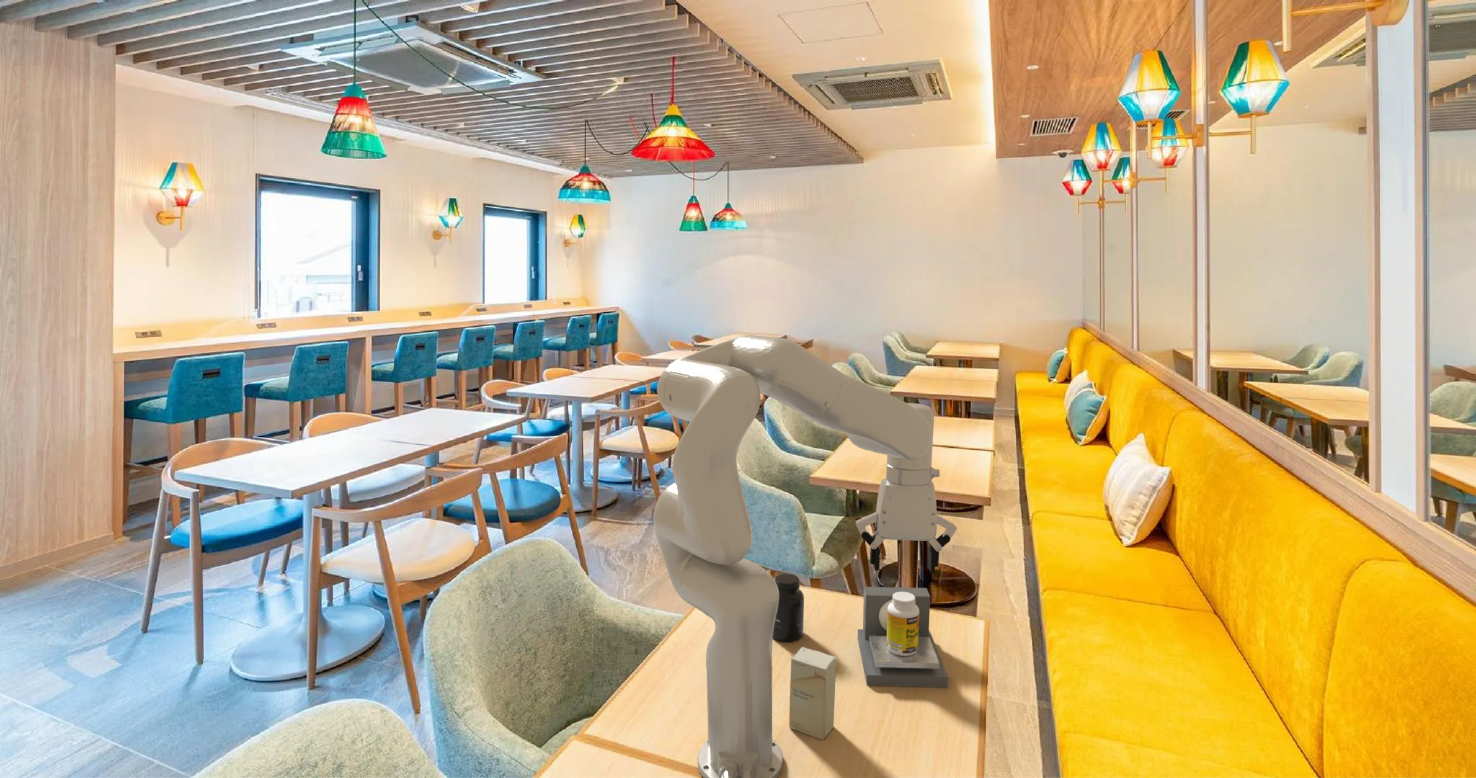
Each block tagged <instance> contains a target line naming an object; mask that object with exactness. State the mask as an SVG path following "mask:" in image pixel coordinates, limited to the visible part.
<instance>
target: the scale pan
mask: <svg viewBox="0 0 1476 778" xmlns="http://www.w3.org/2000/svg"><path fill="white" fill-rule="evenodd" d="M869 641H870V645H871V649H872V654H873V658H874V663H875V667H893V668H931V669H939V661H938V659H937V656H936V653H935V651H934V648H933V646H932V643H931V641H930V638H929V637H918V649H917V651H916V653H914V654H913V655H909V656H900V655H896V654H894V653H892V652H890V651H889V650H888V648H887V636H870V639H869Z"/></svg>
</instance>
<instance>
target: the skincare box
mask: <svg viewBox="0 0 1476 778" xmlns="http://www.w3.org/2000/svg"><path fill="white" fill-rule="evenodd" d="M790 659H791V660H790V680H789V681H790V685H789V689H790V690H789V712H788V714H789V715H788V716H789V718H788V719H789V721H788V727H789V728H790V729H792V730H795V731H797V732H800V733H802V734H806V735H808V736H810V737H813V738H815V739H818V740H820V741H821V740H822V741H823V740H824V739H826V738H827V735H828V734H829V733H830V732H831V731H832V729H833V728H834V726H835V725H834V724H835V699H836V698H835V697H836V696H835V695H836V674H837V673H836V671H837V656H835V655H831V654H828V653H825V652H822V651H818V650H814V649H812V648H809V647H804V646H801V647H800V648H799V649H798V650H797V651H796V652H795V653H794V654H793V655H792V656H791V658H790Z"/></svg>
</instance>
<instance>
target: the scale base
mask: <svg viewBox="0 0 1476 778" xmlns="http://www.w3.org/2000/svg"><path fill="white" fill-rule="evenodd" d="M896 592H908V593H911V594H913V595H914V596H915V605H916V606H917V607H918V608H919V631H918V637H929V638H930V641H931V643H932V646H933V648H934V651H935V653H936V656H937V659H938V661H939V669H931V668H893V667H875V663H874V658H873V654H872V649H871V645H870V641H869V639H870V636H887V613H888V605H889V604H890V603H892V599H893V594H894V593H896ZM930 607H931V595H930V593H929V591H928V588H927V587H895V586H894V587H890V586H889V587H888V586H887V587H886V586H885V587H884V586H864V587H863V613H862V614H863V615H862V616H863V617H862V628H861V629H859V628H858V629H857V643H858V648H859V653H860V657H861V662H862V663H861V664H862V667H863V673H864V678H865V683H866V686H875V687H876V686H877V687H910V688H911V687H913V688H947V689H948V688H949V676H948V673H947V670H946V667H945V665H944V663H943V660H942V658H941V655H940V652H939V651H938V647H937V646H936V643H935V641H934V638H933V636H932V632H931V630H930V613H931V610H930V609H931V608H930Z"/></svg>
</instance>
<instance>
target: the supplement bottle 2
mask: <svg viewBox="0 0 1476 778" xmlns="http://www.w3.org/2000/svg"><path fill="white" fill-rule="evenodd" d="M918 631H919V608H918V607H917V606H916V605H915V596H914V595H913V594H911V593H908V592H896V593H894V594H893V599H892V603H890V604H889V605H888V613H887V648H888V650H889V651H890V652H892V653H894V654H896V655H900V656H909V655H913V654H914V653H916V651H917V649H918Z"/></svg>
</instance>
